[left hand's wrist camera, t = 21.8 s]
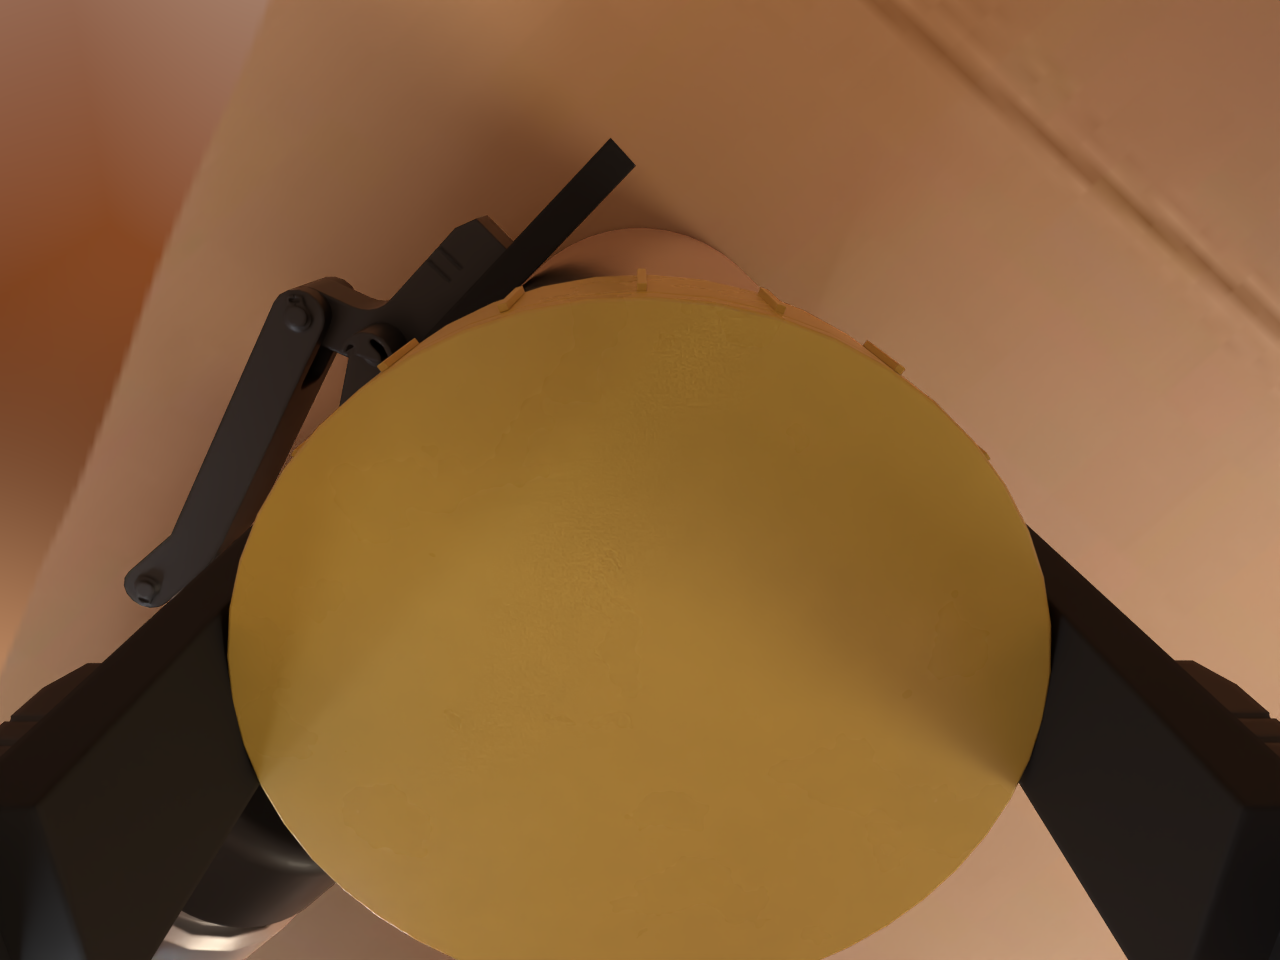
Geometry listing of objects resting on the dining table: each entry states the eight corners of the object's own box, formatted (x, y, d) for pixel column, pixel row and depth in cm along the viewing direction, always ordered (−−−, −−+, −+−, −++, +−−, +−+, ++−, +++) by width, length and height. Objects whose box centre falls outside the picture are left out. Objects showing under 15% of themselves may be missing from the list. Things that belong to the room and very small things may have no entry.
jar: (834, 412, 27) (1098, 740, 12) (605, 555, 29) (565, 1002, 13) (680, 163, 24) (751, 153, 9) (437, 339, 26) (142, 589, 11)
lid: (887, 923, 14) (923, 1034, 12) (285, 853, 14) (230, 959, 12) (1097, 340, 11) (1193, 376, 9) (284, 209, 10) (204, 218, 8)
